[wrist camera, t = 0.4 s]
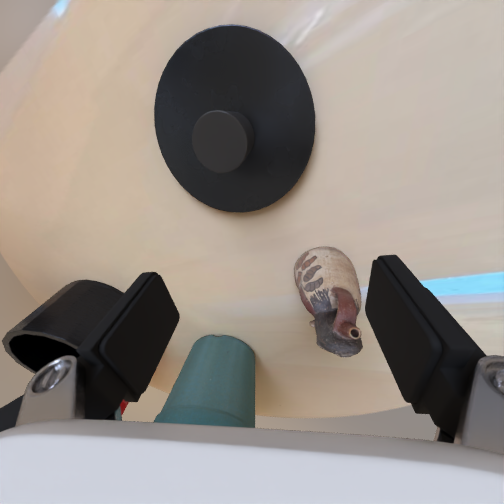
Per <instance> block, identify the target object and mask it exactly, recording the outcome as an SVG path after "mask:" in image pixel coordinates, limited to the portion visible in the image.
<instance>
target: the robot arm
mask: <svg viewBox="0 0 504 504" xmlns="http://www.w3.org/2000/svg"><path fill="white" fill-rule="evenodd" d="M365 312H366V316H367V318H368V320H369V322H370V325H371V327H372V329H373V331H374V334H375V336H376V338H377V340H378V343H379V345H380V347H381V349H382V351H383V354H384V356H385V358H386V360H387V363H388V365H389V367H390V369H391V372H392V374H393V376H394V378H395V381H396V383H397V385H398V387H399V390H400V392H401V394H402V396H403V398H404V400H405V401H406V402H408V403H411V404H412V407H413V409H414V411H415V413H417V414H430V416H431V418H432V420H433V422H434V424H435V425H436V426H437V430H436V433H435V437H434V441H429V440H420V439H408V438H396V437H384V436H383V437H382V436H371V435H358V434H343V433H325V432H311V431H295V430H294V431H293V430H279V429H262V428H245V427H228V426H210V425H192V424H174V423H155V422H135V421H122V417H121V407H120V404H121V403H122V401H123V400H124V401H125V402H138V400H139V398H140V396H141V394H142V393H144V391H146V389H147V387H148V385H149V383H150V381H151V378H152V376H153V374H154V372H155V370H156V368H157V366H158V364H159V362H160V360H161V358H162V355H163V353H164V351H165V349H166V347H167V345H168V343H169V341H170V339H171V337H172V334H173V332H174V330H175V328H176V326H177V324H178V322H179V318H180V316H179V312H178V310H177V308H176V306H175V304H174V302H173V300H172V298H171V296H170V294H169V292H168V289H167V287H166V285H165V283H164V281H163V279H162V277H161V276H160V275H158V274H157V273H156V272H146V273H142V274H141V275H140V276H139V277H138V278H137V279H136V280H135V282H134V283H133V284H132V285H131V286H130V287H129V289H128V290H127V291H126V292H125V293H124V294H123V296H122V297H121V298H120V299H119V300H118V301H117V303H116V304H115V305H114V306H113V307H112V308H111V310H110V311H109V312H108V313H107V314H106V315H105V317H104V318H103V319H102V320H101V321H100V322H99V324H98V325H97V326H96V327H95V328H94V329H93V331H92V332H91V333H90V334H89V335H88V336H87V338H86V339H85V340H84V341H83V342H82V343H81V345H80V346H79V347H78V348H77V349H76V351H77V352H78V353H79V354H80V356H79V357H78V358H77V359H76V358H75V357H74V356H70V355H67V356H62V357H60V358H57V359H55V360H53V361H52V362H50V363H48V364H47V365H46V366H44V367H43V368H42V369H40V370H39V371H38V372H37V373H36V374H35V375H34V377H33V378H32V379H31V381H30V382H29V383H28V385H27V387H26V390H25V393H24V395H22V396H20V397H19V398H17V399H15V400H14V401H12V402H10V403H9V404H7V405H5V406H4V407H2V408H0V504H504V356H498V355H491V356H486V355H485V353H484V352H483V351H482V350H481V349H480V348H479V346H478V345H477V344H476V343H475V342H474V341H473V340H472V338H471V337H470V336H469V335H468V334H467V333H466V332H465V330H464V329H463V328H462V327H461V326H460V325H459V324H458V322H457V321H456V320H455V319H454V318H453V317H452V316H451V314H450V313H449V312H448V311H447V310H446V309H445V307H444V306H443V305H442V304H441V303H440V302H439V301H438V299H437V298H436V297H435V296H434V295H433V294H432V293H431V291H429V290H428V289H427V288H425V287H424V286H423V285H422V284H421V283H420V282H419V280H418V279H417V278H416V277H415V276H414V275H413V273H412V272H411V271H410V270H409V269H408V268H407V266H406V265H405V264H404V263H403V262H402V261H401V259H400V258H399V257H398V256H397V255H384V256H379V257H378V258H377V260H374V261H373V263H372V269H371V275H370V281H369V287H368V293H367V299H366V305H365Z"/></svg>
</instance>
